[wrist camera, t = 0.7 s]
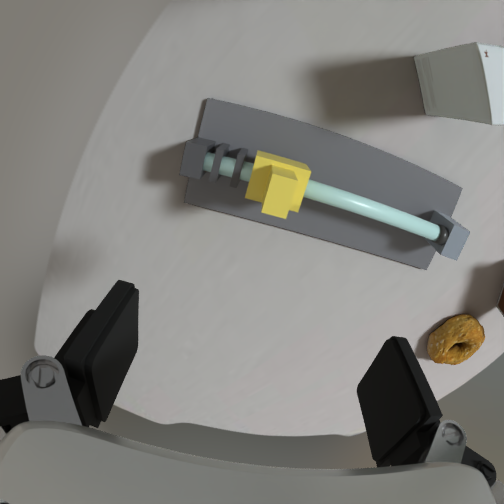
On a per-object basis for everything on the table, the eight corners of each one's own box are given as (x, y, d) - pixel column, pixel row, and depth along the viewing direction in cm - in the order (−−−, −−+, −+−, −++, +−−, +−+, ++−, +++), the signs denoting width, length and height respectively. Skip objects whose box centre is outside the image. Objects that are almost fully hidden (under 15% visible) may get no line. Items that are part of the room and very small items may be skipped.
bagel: (435, 312, 40) (448, 332, 36) (484, 308, 40) (497, 325, 36) (416, 358, 45) (425, 378, 41) (463, 351, 45) (474, 369, 40)
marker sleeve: (257, 150, 30) (254, 163, 22) (305, 164, 30) (318, 181, 23) (247, 187, 31) (241, 212, 24) (294, 200, 32) (302, 228, 24)
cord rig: (208, 98, 30) (197, 95, 25) (460, 187, 32) (484, 200, 27) (185, 201, 35) (171, 217, 30) (424, 267, 37) (442, 290, 32)
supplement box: (424, 116, 29) (490, 126, 17) (412, 55, 26) (475, 39, 14) (470, 113, 28) (539, 126, 16) (460, 57, 25) (528, 49, 13)
